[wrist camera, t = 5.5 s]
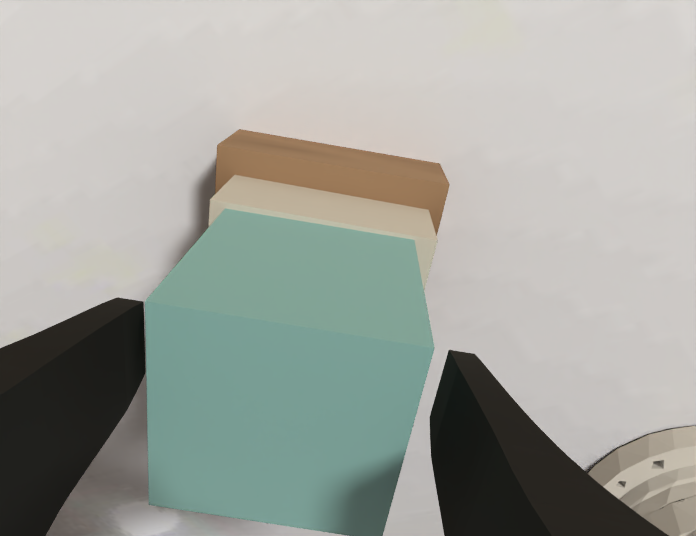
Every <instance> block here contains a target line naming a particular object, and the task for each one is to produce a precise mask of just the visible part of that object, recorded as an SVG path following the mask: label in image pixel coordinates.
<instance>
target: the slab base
mask: <svg viewBox="0 0 696 536" xmlns="http://www.w3.org/2000/svg"><path fill="white" fill-rule="evenodd" d="M234 175H239V176H244V177H250V178H255V179H261V180H266V181H272V182H277V183H283V184H288V185H294V186H299V187H305V188H311V189H316V190H322V191H327V192H333V193H338V194H344V195H349V196H355V197H360V198H366V199H371V200H377V201H382V202H388V203H393V204H399V205H404V206H410V207H415V208H421V209H427V210H429V213H430V216H431V219H432V223H433V226H434V230H435V233H436V236H437V232H438V228H439V224H440V220H441V216H442V212H443V209H444V205H445V201H446V197H447V193H448V189H449V185H450V184H449V182H448V180H447V178H446V176H445V174H444V172H443V170H442V168H441V165H440V164H439V163H433V162H427V161H421V160H416V159H410V158H404V157H398V156H392V155H386V154H381V153H375V152H369V151H363V150H357V149H351V148H346V147H340V146H334V145H328V144H322V143H316V142H310V141H305V140H299V139H293V138H287V137H281V136H275V135H270V134H264V133H258V132H252V131H246V130H240V129H239V130H238V131H236V132H235V133H234V134H232V135H231V136H229V137H228V138H227V139H225V140H224V141H222V142H221V143H219V144H218V145H217V162H216V184H215V194H216V193H217V192H218V191H219V190H220V189H221V188H222V187H223V186H224V185H225V184H226V183H227V182H228V181H229V180H230V179H231V178H232V177H233V176H234Z"/></svg>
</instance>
